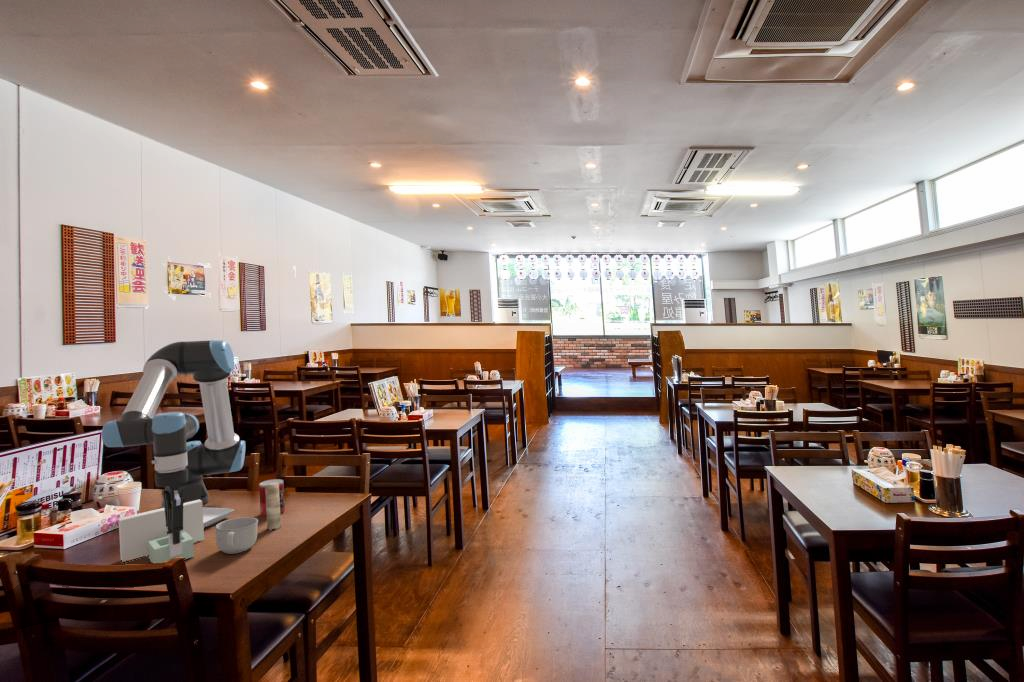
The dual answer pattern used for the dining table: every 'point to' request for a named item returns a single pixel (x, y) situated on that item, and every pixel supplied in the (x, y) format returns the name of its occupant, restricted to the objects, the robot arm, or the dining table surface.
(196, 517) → the wall
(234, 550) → the teacup
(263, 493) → the canned food
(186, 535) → the holed block
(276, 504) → the dowel
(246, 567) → the dining table surface
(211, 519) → the salad plate
